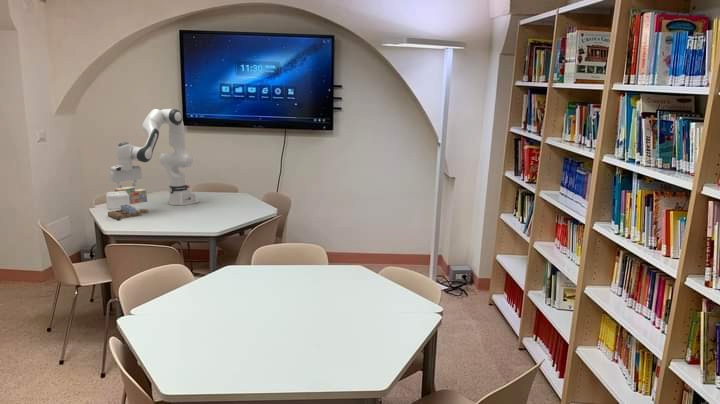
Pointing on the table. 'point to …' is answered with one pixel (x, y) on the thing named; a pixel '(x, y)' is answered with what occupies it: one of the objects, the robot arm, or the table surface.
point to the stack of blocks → (134, 194)
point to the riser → (144, 210)
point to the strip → (128, 208)
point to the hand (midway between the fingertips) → (127, 186)
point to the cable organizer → (117, 199)
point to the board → (122, 214)
